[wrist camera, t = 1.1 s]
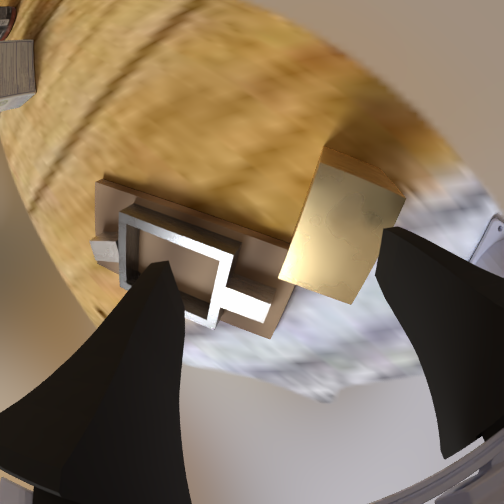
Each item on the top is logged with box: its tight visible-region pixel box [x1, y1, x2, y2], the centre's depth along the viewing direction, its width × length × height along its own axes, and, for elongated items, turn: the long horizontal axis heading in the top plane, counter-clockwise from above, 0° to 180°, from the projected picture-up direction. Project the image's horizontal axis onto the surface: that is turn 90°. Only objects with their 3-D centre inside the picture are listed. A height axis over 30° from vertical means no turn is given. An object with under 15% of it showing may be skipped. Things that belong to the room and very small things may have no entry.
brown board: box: [90, 179, 295, 339], centre depth 22 cm, size 19×9×3 cm, turn 75°
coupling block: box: [278, 146, 406, 305], centre depth 15 cm, size 4×6×7 cm, turn 165°
